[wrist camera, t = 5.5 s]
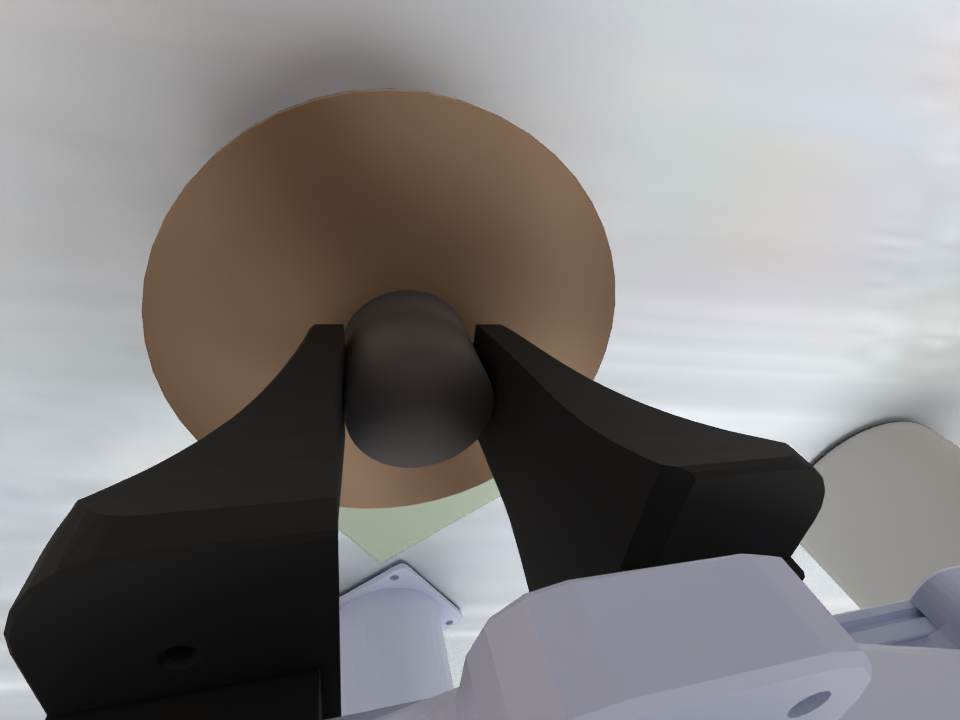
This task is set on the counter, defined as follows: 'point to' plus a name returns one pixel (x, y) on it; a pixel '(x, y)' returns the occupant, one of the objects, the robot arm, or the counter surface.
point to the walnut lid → (377, 276)
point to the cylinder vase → (887, 512)
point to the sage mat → (409, 521)
